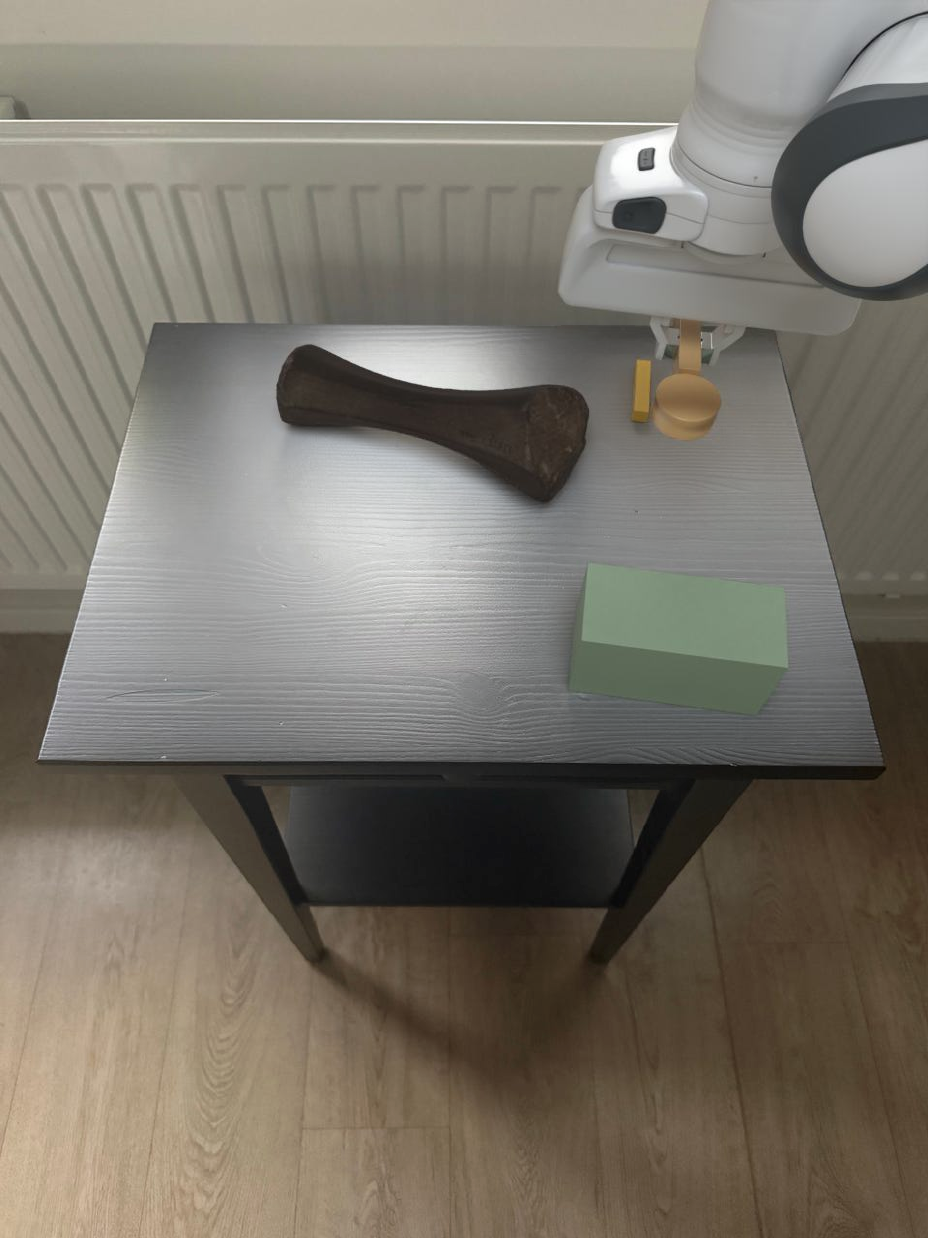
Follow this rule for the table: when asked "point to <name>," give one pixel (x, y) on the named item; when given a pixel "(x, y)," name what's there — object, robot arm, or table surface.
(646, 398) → the fry
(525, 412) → the dark brown bone
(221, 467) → the table surface
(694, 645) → the sage green box
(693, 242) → the robot arm
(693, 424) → the spoon
